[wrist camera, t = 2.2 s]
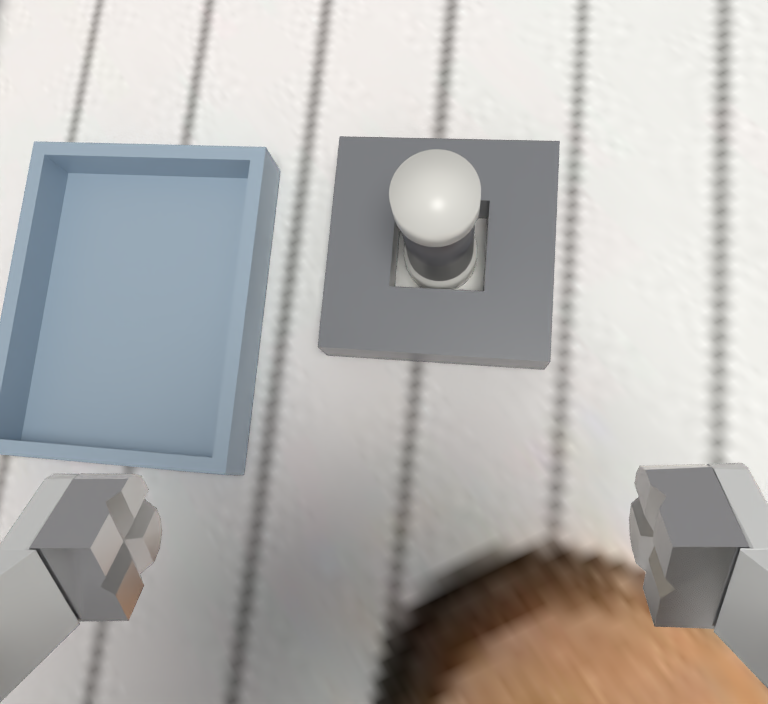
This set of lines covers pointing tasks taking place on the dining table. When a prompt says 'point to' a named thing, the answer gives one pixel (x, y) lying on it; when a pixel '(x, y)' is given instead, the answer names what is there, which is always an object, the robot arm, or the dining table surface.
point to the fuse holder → (443, 306)
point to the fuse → (437, 217)
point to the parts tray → (137, 305)
